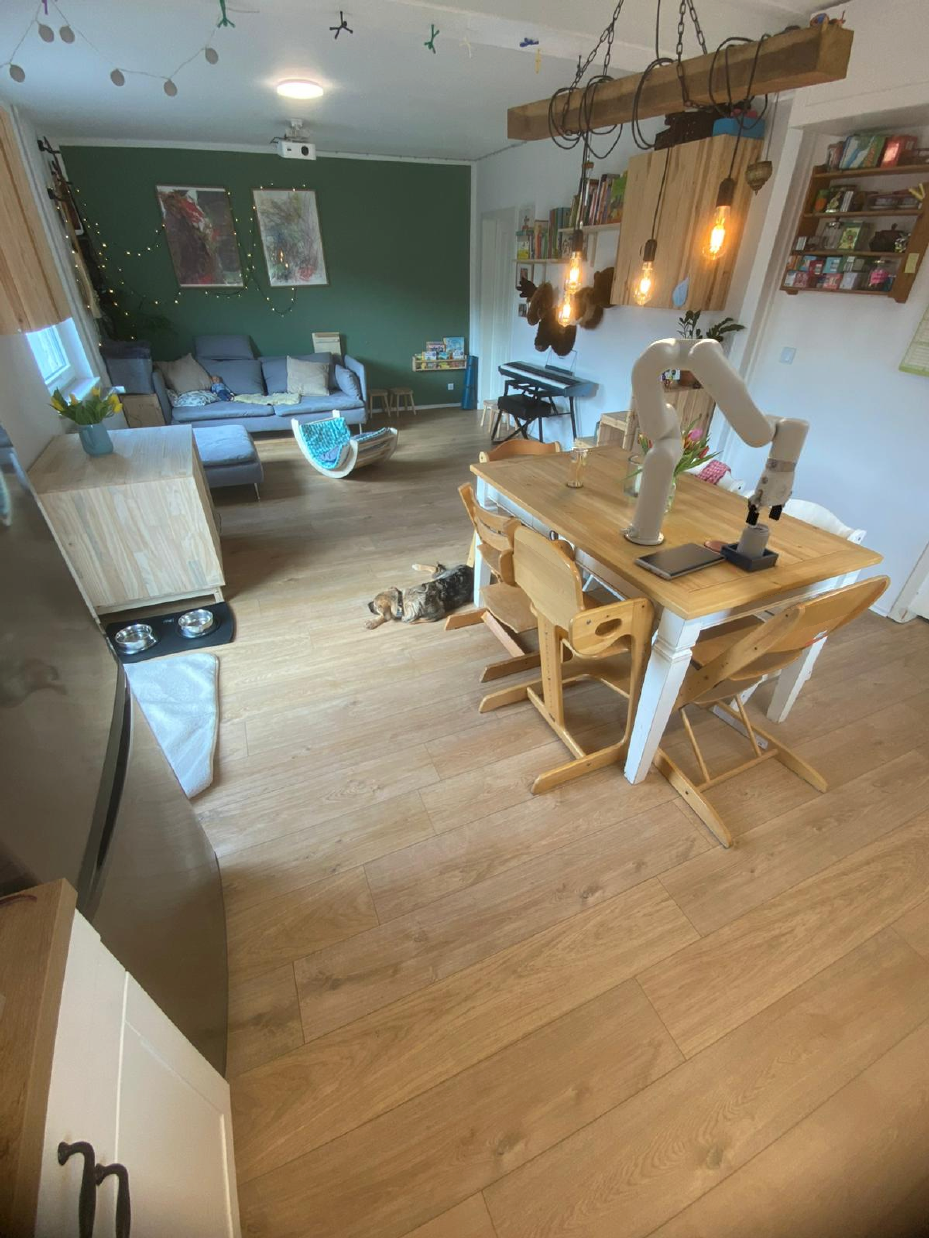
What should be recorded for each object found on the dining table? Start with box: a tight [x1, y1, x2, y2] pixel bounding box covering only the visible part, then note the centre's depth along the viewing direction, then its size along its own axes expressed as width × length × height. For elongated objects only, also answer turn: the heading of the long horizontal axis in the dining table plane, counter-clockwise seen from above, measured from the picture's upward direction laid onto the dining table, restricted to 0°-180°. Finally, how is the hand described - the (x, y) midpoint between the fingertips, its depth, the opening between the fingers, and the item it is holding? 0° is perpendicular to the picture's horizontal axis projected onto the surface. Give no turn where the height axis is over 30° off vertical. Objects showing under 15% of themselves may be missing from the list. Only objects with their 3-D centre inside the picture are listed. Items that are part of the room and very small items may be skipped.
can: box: [736, 522, 771, 559], centre depth 164 cm, size 8×8×12 cm
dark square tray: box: [719, 541, 780, 573], centre depth 166 cm, size 12×12×4 cm
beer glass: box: [567, 446, 589, 488], centre depth 220 cm, size 7×7×15 cm
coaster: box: [704, 540, 729, 553], centre depth 175 cm, size 9×9×1 cm
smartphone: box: [634, 541, 726, 580], centre depth 165 cm, size 13×27×2 cm, turn 121°
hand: (762, 521), depth 160 cm, fingers open, 9 cm apart
